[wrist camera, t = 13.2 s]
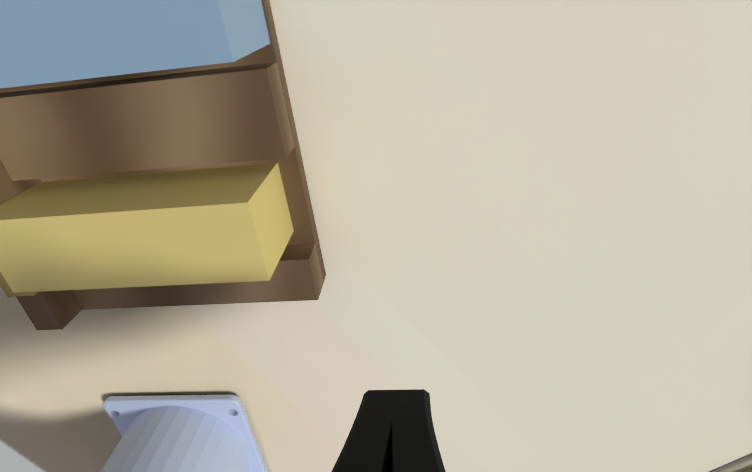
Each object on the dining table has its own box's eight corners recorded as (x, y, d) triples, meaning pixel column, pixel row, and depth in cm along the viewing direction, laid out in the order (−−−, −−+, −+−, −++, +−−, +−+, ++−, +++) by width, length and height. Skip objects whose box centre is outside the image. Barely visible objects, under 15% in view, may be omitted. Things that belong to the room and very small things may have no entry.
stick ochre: (277, 162, 18) (247, 202, 15) (293, 231, 19) (269, 280, 16) (41, 181, 19) (-31, 222, 16) (73, 244, 20) (13, 292, 17)
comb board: (234, -170, 13) (180, -210, 10) (325, 275, 21) (309, 325, 18) (-123, -105, 15) (-258, -122, 12) (83, 286, 22) (32, 334, 19)
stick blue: (5, 74, 17) (-86, 98, 14) (-42, -20, 15) (-155, -16, 12) (270, 43, 15) (233, 62, 12) (247, -63, 14) (199, -72, 11)
